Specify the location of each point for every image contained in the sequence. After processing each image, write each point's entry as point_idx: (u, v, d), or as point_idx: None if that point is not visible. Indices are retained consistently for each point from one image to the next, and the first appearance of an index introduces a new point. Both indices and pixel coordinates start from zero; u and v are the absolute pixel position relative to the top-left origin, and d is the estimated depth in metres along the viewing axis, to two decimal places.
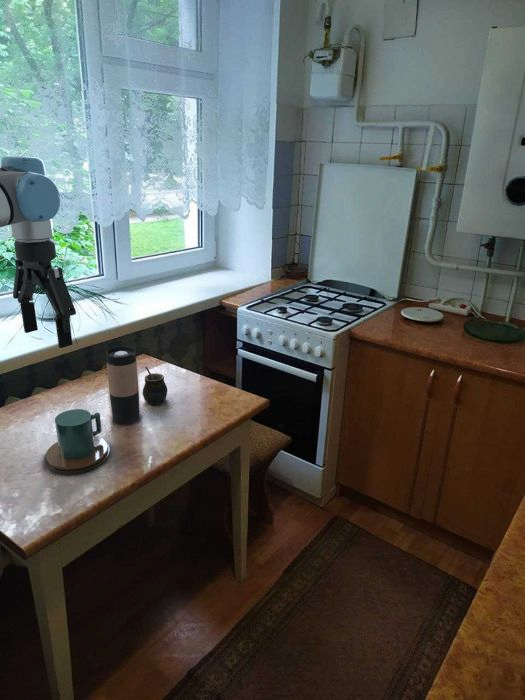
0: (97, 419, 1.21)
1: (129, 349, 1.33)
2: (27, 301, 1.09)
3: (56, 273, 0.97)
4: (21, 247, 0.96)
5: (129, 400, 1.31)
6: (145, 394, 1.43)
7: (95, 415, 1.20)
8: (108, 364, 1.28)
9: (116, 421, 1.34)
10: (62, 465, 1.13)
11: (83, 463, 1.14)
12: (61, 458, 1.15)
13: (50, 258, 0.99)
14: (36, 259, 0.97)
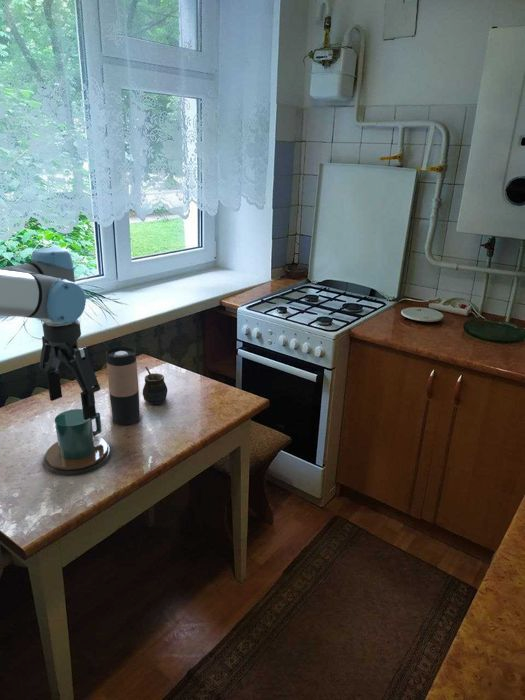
0: (97, 419, 1.21)
1: (129, 349, 1.33)
2: (52, 372, 1.16)
3: (82, 353, 1.05)
4: (49, 331, 1.04)
5: (129, 400, 1.31)
6: (145, 394, 1.43)
7: None
8: (108, 364, 1.28)
9: (116, 421, 1.34)
10: (62, 465, 1.13)
11: (83, 463, 1.14)
12: (61, 458, 1.15)
13: (76, 338, 1.07)
14: (63, 341, 1.05)
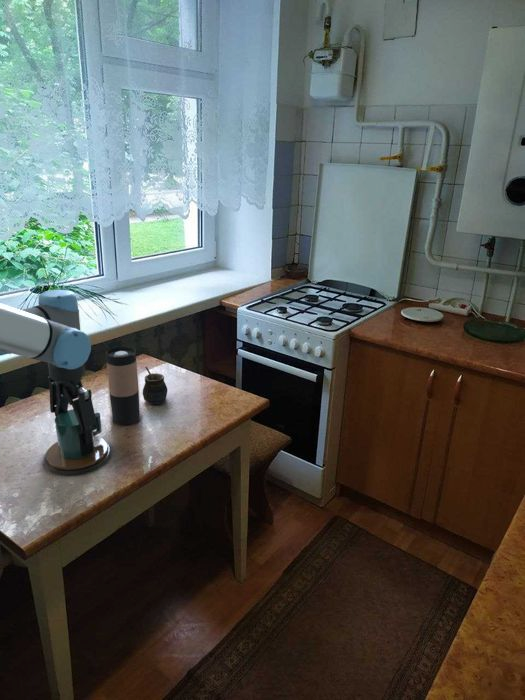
0: (97, 419, 1.21)
1: (129, 349, 1.33)
2: None
3: (86, 396, 1.09)
4: (55, 370, 1.07)
5: (129, 400, 1.31)
6: (145, 394, 1.43)
7: (95, 415, 1.20)
8: (108, 364, 1.28)
9: (116, 421, 1.34)
10: (62, 465, 1.13)
11: (83, 463, 1.14)
12: (61, 458, 1.15)
13: (80, 377, 1.10)
14: (68, 379, 1.08)
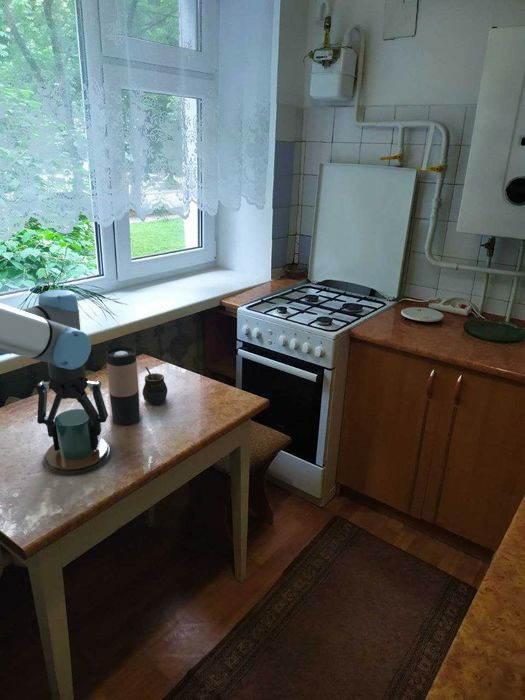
0: None
1: (129, 349, 1.33)
2: (53, 421, 1.16)
3: (99, 387, 1.13)
4: (68, 370, 1.07)
5: (129, 400, 1.31)
6: (145, 394, 1.43)
7: None
8: (108, 364, 1.28)
9: (116, 421, 1.34)
10: (83, 463, 1.14)
11: (100, 455, 1.17)
12: (73, 460, 1.15)
13: None
14: (80, 376, 1.10)
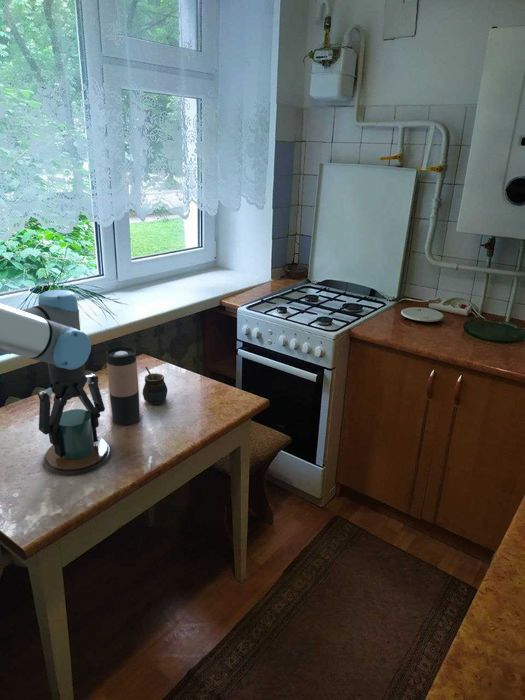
0: None
1: (129, 349, 1.33)
2: None
3: None
4: (80, 366, 1.09)
5: (129, 400, 1.31)
6: (145, 394, 1.43)
7: None
8: (108, 364, 1.28)
9: (116, 421, 1.34)
10: (100, 455, 1.17)
11: (104, 444, 1.21)
12: (87, 457, 1.16)
13: None
14: None
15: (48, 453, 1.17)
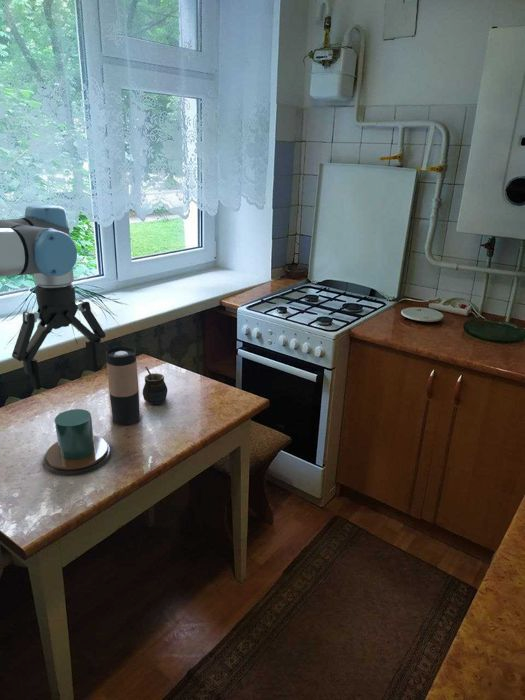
0: None
1: (129, 349, 1.33)
2: None
3: None
4: (70, 290, 1.01)
5: (129, 400, 1.31)
6: (145, 394, 1.43)
7: None
8: (108, 364, 1.28)
9: (116, 421, 1.34)
10: (100, 455, 1.17)
11: (104, 444, 1.21)
12: (87, 457, 1.16)
13: None
14: (75, 298, 1.04)
15: (48, 453, 1.17)
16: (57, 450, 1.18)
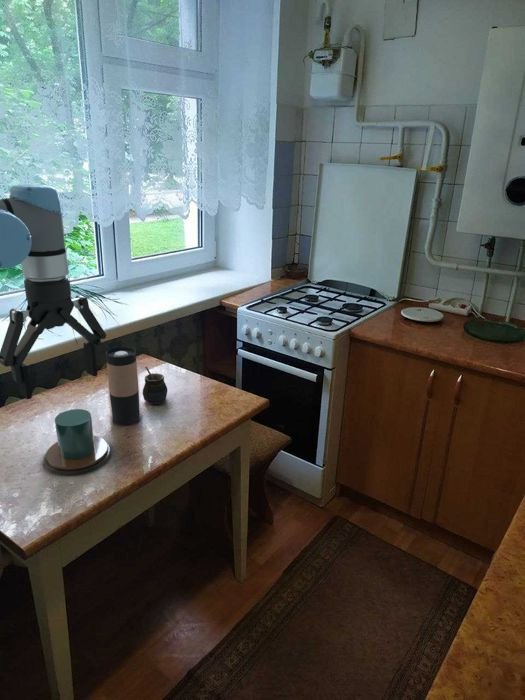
0: None
1: (129, 349, 1.33)
2: None
3: None
4: (64, 285, 0.87)
5: (129, 400, 1.31)
6: (145, 394, 1.43)
7: None
8: (108, 364, 1.28)
9: (116, 421, 1.34)
10: (100, 455, 1.17)
11: (104, 444, 1.21)
12: (87, 457, 1.16)
13: None
14: None
15: (48, 453, 1.17)
16: (57, 450, 1.18)
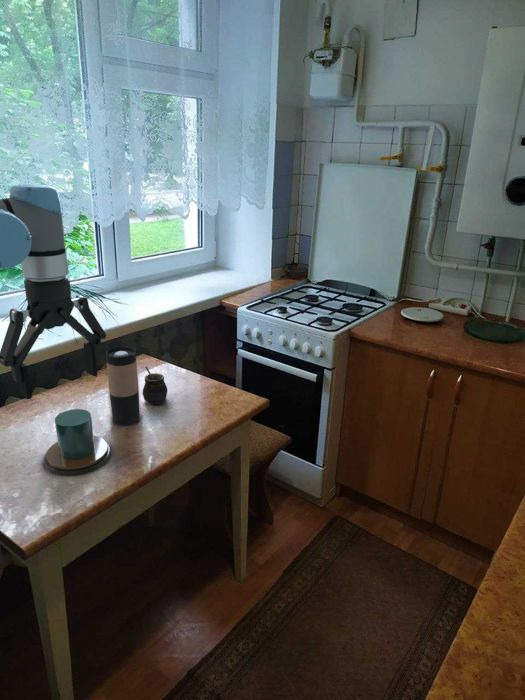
0: None
1: (129, 349, 1.33)
2: None
3: None
4: (64, 285, 0.87)
5: (129, 400, 1.31)
6: (145, 394, 1.43)
7: None
8: (108, 364, 1.28)
9: (116, 421, 1.34)
10: (100, 455, 1.17)
11: (104, 444, 1.21)
12: (87, 457, 1.16)
13: None
14: None
15: (48, 453, 1.17)
16: (57, 450, 1.18)
